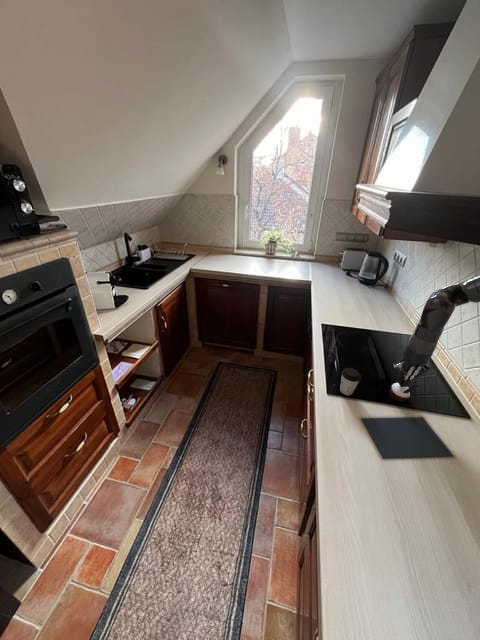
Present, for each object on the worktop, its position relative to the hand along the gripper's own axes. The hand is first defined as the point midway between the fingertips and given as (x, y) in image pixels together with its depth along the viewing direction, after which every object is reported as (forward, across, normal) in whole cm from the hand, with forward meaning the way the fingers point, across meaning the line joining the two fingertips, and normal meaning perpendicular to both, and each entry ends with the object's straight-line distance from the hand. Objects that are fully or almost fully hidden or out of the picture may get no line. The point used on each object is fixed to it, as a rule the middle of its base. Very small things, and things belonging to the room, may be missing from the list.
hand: (402, 385), depth 93 cm
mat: (+7, -7, -16) cm, 19 cm away
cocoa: (+7, 0, 0) cm, 7 cm away
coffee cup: (+7, -18, +4) cm, 20 cm away
